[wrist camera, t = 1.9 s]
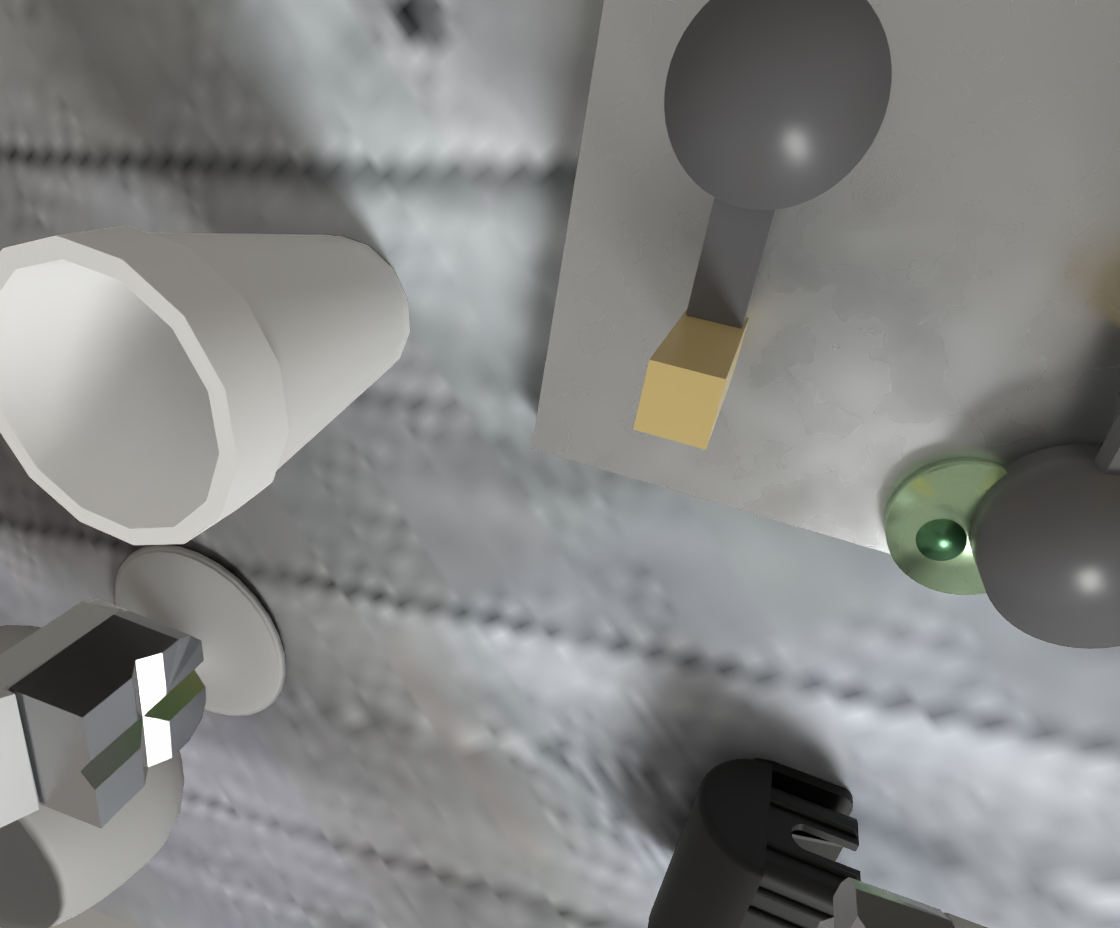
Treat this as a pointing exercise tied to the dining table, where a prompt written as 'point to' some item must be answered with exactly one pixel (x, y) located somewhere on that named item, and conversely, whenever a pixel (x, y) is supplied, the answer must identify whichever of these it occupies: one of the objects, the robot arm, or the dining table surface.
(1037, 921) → the dining table surface
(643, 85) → the leveling plate
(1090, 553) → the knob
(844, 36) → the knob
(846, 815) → the end cap
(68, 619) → the robot arm
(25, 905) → the chalice
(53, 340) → the foam cup
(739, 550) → the dining table surface
